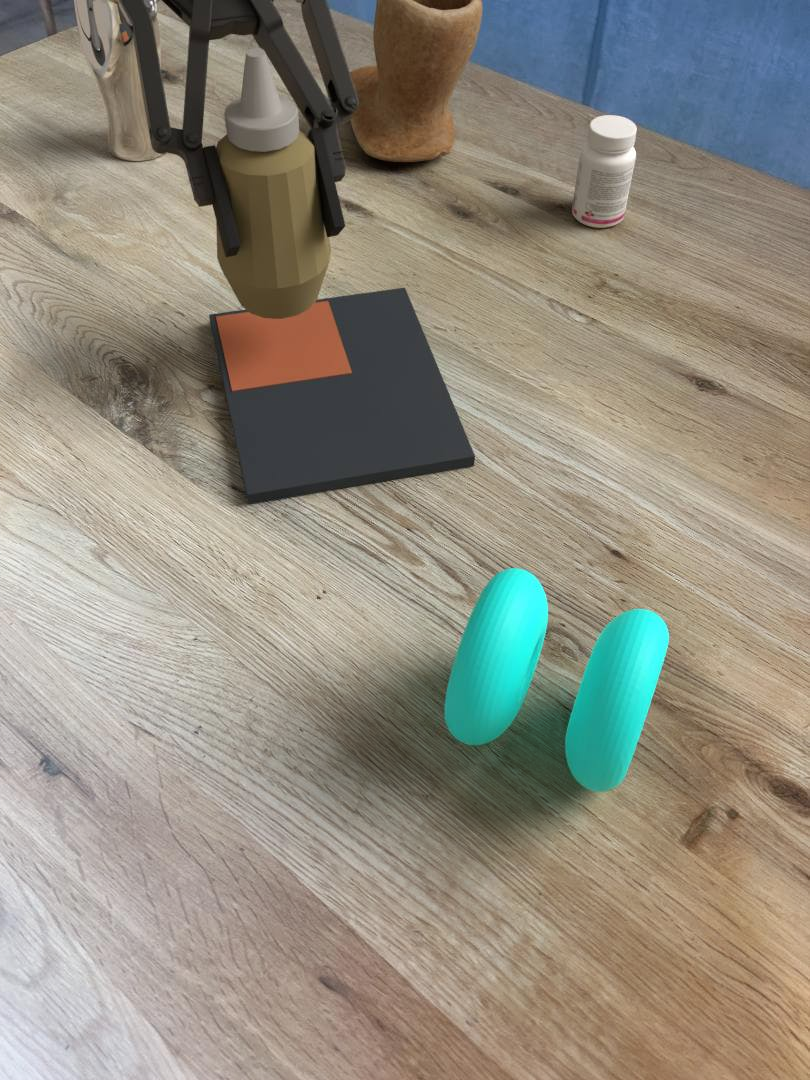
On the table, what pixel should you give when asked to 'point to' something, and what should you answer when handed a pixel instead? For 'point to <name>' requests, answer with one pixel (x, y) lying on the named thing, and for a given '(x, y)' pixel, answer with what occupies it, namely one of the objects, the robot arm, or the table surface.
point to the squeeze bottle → (271, 200)
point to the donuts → (509, 664)
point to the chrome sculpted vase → (116, 76)
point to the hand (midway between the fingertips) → (285, 241)
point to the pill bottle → (605, 172)
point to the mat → (336, 396)
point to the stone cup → (413, 77)
